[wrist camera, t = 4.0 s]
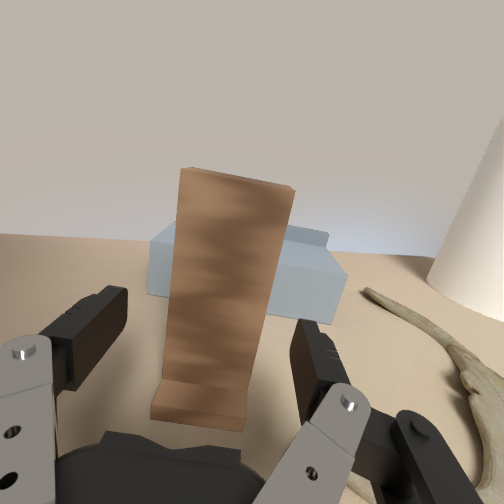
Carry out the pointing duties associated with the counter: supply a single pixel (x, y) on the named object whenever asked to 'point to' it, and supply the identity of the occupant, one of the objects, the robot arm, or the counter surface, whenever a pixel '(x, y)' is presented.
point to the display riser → (286, 278)
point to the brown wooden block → (218, 295)
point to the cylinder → (477, 240)
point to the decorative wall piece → (481, 401)
